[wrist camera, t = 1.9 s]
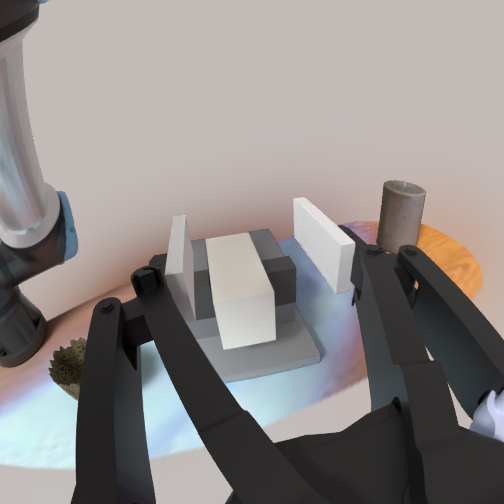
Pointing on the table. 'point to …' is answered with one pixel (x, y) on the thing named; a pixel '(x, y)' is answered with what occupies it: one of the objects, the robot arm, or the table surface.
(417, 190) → the pillar candle
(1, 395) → the table surface
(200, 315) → the guide
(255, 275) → the peg
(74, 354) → the cup
